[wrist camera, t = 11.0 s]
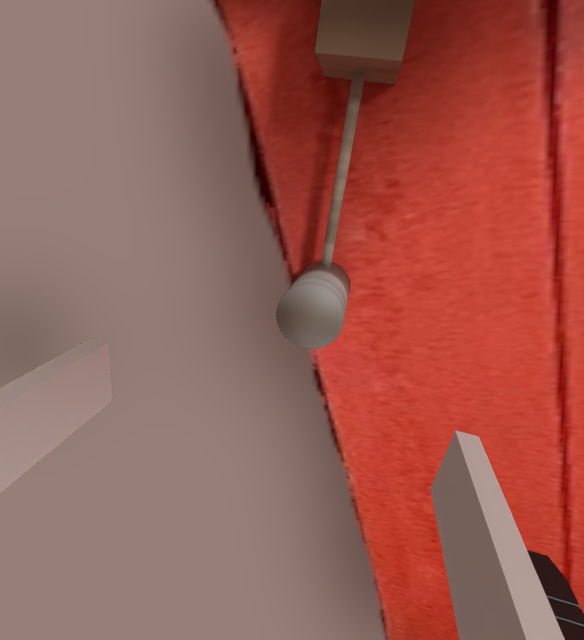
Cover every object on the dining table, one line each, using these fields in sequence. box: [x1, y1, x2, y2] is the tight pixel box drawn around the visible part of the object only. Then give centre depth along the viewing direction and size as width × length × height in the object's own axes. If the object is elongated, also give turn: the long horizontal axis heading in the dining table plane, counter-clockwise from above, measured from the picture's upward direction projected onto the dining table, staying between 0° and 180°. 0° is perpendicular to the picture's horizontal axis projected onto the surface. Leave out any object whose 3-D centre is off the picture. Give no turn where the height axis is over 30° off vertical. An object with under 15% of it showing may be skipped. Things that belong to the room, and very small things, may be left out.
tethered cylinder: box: [276, 0, 415, 349], centre depth 23 cm, size 23×5×8 cm, turn 172°
